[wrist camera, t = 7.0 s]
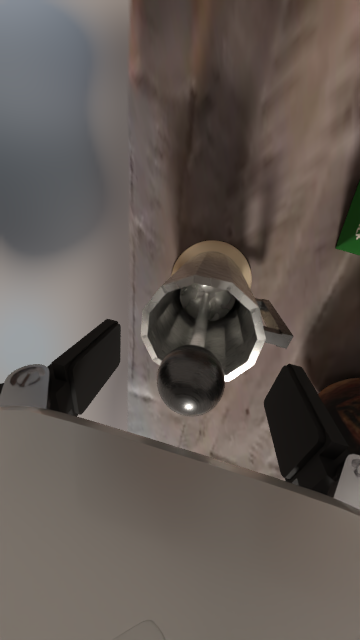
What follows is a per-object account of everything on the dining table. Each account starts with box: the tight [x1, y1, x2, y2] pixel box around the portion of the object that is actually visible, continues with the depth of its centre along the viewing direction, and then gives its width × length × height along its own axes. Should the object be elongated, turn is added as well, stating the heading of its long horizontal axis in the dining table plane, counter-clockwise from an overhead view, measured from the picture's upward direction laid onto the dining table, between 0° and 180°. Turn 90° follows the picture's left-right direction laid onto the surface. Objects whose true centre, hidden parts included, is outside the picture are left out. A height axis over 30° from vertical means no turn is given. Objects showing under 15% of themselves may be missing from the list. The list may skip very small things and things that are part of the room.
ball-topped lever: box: [157, 283, 235, 416], centre depth 14 cm, size 6×6×15 cm
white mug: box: [141, 251, 293, 381], centre depth 19 cm, size 8×11×14 cm
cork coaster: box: [172, 240, 251, 288], centre depth 26 cm, size 11×11×1 cm
